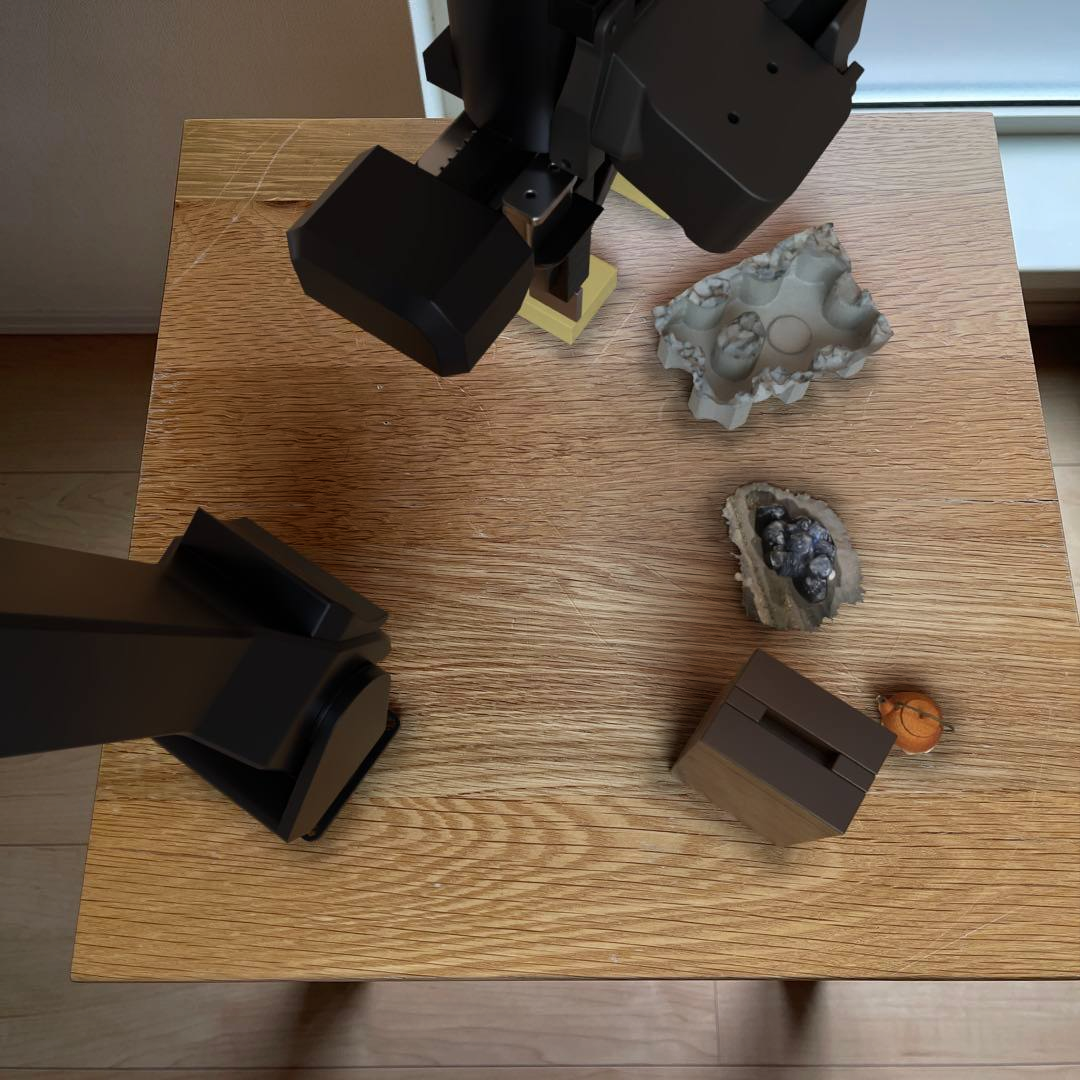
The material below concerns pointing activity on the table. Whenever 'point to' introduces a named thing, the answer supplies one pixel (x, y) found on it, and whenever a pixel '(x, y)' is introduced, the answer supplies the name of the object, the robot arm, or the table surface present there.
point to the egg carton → (770, 327)
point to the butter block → (593, 298)
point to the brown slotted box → (783, 754)
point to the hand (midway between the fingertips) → (553, 267)
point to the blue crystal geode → (791, 557)
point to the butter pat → (634, 194)
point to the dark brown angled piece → (570, 270)
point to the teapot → (913, 721)
